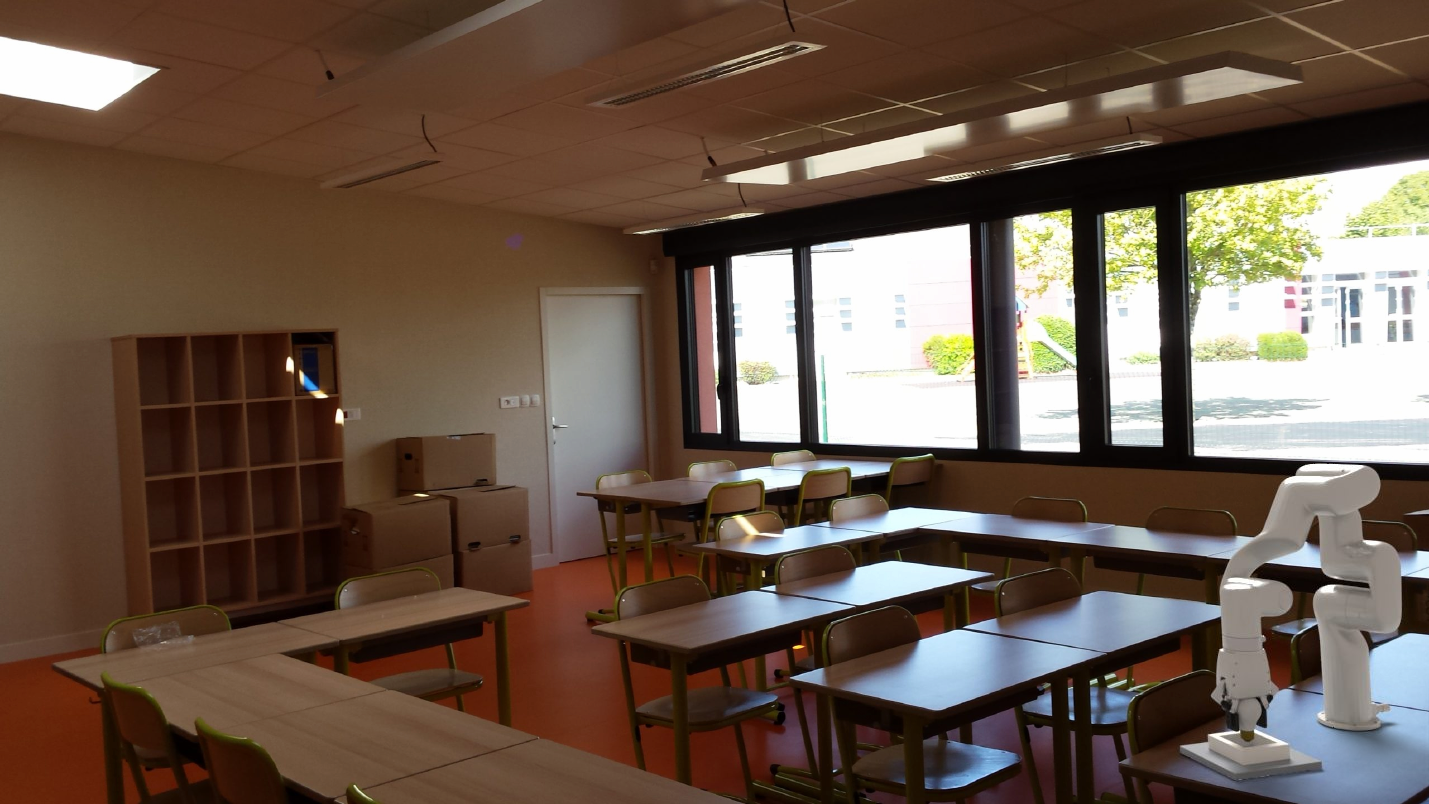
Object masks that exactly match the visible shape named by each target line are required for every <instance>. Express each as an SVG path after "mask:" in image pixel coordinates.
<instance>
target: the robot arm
mask: <svg viewBox="0 0 1429 804" xmlns="http://www.w3.org/2000/svg"><path fill="white" fill-rule="evenodd" d="M1380 489H1381V480H1380V476H1379V474H1378V473H1377V471H1376V470H1375V469H1374V468H1372V467H1371V466H1367V465H1359V464H1335V463H1334V464H1333V463H1329V464H1327V463H1315V464H1314V463H1313V464H1305V465H1303V466H1301V467H1299V468H1298V469H1297V470H1296V473H1295V476H1291V477H1288V478H1285V479H1284V480H1283V481H1282V482H1281V483H1280V485H1278V489H1277V492H1276V494H1275V497H1274V499H1273V502H1272V504H1271V507H1270V510H1269V513H1268V516H1267V519H1266V520H1265V523H1264V526H1263V529H1262V531H1261V532H1260V533H1258V535H1256V536H1254V537H1253V538H1251V539H1250V540H1248V541H1247V542H1246V543H1244V545H1242V546H1241V547H1240V548H1239V549H1238V550H1237V551H1236V552H1235V553H1233V555H1232V557H1230V559H1229V562H1228V563H1227V565H1226V568H1225V571H1224V574H1223V575H1222V578H1221V582H1220V586H1219V600H1220V601H1219V602H1220V619H1221V634H1222V635H1221V637H1222V648H1220V649H1219V651H1218V656H1217V660H1216V661H1217V662H1216V677H1215V678H1216V680H1215V681H1216V682H1215V683H1216V687H1215V688H1214V690H1213V691H1212V693H1211V695H1210V696H1211V698H1212V699H1213V700H1214V701H1215V702H1216V703H1217V704H1218V705H1219V706H1220V707H1221V708H1222V710H1224V711H1225V724H1226V727H1227V729H1228V730H1231V731H1235V732H1239V730H1240V728H1239V714H1238V713H1237V712H1236V709H1237V705H1238V701H1239V699H1246V698H1256V699H1257V700H1258V702H1259V703H1260V705H1261V715H1260V717H1259V719H1258V720H1257V722H1256V726H1257V727H1260V728H1263V729H1267V728H1268V712H1267V711H1268V710H1269V708H1270V704H1271V703H1272V701H1273V699H1274V698H1275V696H1276V695H1277V693H1279V691H1280V689H1279V687H1278V686H1277V685H1276V684H1275V683H1274V682H1273V681H1272V679H1271V671H1270V666H1269V661H1268V657H1267V652H1266V650H1265V648H1263V643H1264V642H1266V641H1267V638H1266V636H1264V635H1263V634H1262V619H1261V618H1262V617H1279V616H1282V615H1285V614H1286V613H1287V612H1288V611H1290V609H1291V608H1292V606H1293V603H1294V602H1293V601H1294V595H1293V592H1292V590H1291V589H1290V587H1289V586H1288V585H1287V584H1285V583H1283V582H1281V581H1278V580H1271V579H1265V578H1264V579H1263V578H1256V577H1250V576H1251V575H1252V574H1253V572H1254V571H1255V570H1256V569H1258V568H1259V567H1260V566H1262V565H1263V564H1265V563H1268V562H1270V561H1274V560H1276V559H1279V558H1282V557H1285V556H1289V555H1292V554H1294V553H1297V552H1299V551H1300V550H1302V549H1303V548H1304V545H1305V544H1306V540H1307V539H1308V535H1309V532H1310V530H1311V526H1312V523H1313V521H1314V519H1315V517H1316V516H1317V518H1318V526H1319V557H1320V559H1319V561H1320V562H1319V563H1320V567H1321V570H1322V572H1323V574H1324V575H1326V576H1327V577H1329V578H1333V579H1337V580H1344V581H1350V582H1358V583H1359V582H1360V583H1366V584H1368V586H1369V588H1367V587H1359V586H1350V585H1343V584H1327V585H1325V586H1324V585H1323V586H1321V587H1319V589H1317V590H1316V591H1315V594H1314V595H1313V600H1312V607H1313V612H1314V615H1315V619H1316V623H1317V627H1318V633H1319V634H1318V635H1319V640H1320V641H1319V642H1320V657H1321V658H1320V661H1321V675H1322V676H1321V677H1322V679H1321V680H1322V692H1323V693H1322V695H1323V708H1324V709H1323V711H1320V712H1318V713H1317V714H1316V717H1317V718H1316V720H1317V721H1318V723H1320V724H1322V725H1324V726H1326V727H1330V728H1333V727H1334V729H1339V730H1345V731H1357V732H1359V731H1360V732H1361V731H1364V732H1365V731H1373V730H1377V729H1379V728H1381V725H1382V722H1381V719H1380V718H1379V717H1378V716H1377V715H1378V714H1379V713H1387V712H1390V711H1391V706H1390V704H1389V703H1388V702H1383V703H1376V702H1374V701H1372V700H1373V699H1372V687H1371V685H1372V684H1371V670H1370V650H1369V646H1368V643H1367V641H1366V638H1365V637H1364V635H1363V634H1362V632H1361V631H1363V632H1364V631H1365V632H1371V633H1378V634H1391V633H1394V632H1395V631H1396V630H1397V629H1398V628H1399V627H1400V623H1401V620H1402V613H1403V612H1402V611H1403V610H1402V605H1403V603H1402V597H1403V596H1402V566H1401V564H1402V563H1401V559H1400V556H1399V554H1398V551H1397V549H1396V548H1395V547H1394V546H1393V545H1391V544H1389V543H1387V542H1384V541H1379V540H1369V539H1368V540H1367V539H1364V536H1363V523H1362V521H1363V520H1362V516H1361V513H1360V511H1359V509H1361V508H1363V507H1366V506H1367V505H1369V504H1371V503H1372V502H1373V501H1374V500H1375V499H1376V498H1377V497H1378V495H1379V493H1380ZM1223 696H1224V698H1223Z"/></svg>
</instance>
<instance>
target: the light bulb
mask: <svg viewBox="0 0 1429 804" xmlns="http://www.w3.org/2000/svg"><path fill="white" fill-rule="evenodd" d="M1236 712H1237V713H1238V714H1239V729H1240V736H1241V738H1242V739H1243V740H1244V741H1245V742H1250V741H1252V740H1253V739H1254V729H1255V730H1256V726H1257V725H1256V722H1257V720H1258V719H1259V717H1260V715H1261V705H1260V703H1259V702H1258V700H1257V699H1256V698H1246V699H1239V701H1238V705H1237V709H1236Z"/></svg>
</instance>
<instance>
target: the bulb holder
mask: <svg viewBox="0 0 1429 804" xmlns="http://www.w3.org/2000/svg"><path fill="white" fill-rule="evenodd" d="M1179 753H1180V754H1182V755H1184V756H1186V757H1188V758H1189V757H1190V759H1191V760H1193V761H1196V762H1197V763H1200V764H1201V765H1204V766H1205V767H1207V768H1209V769H1211V770H1213V771H1215V772H1217V773H1219V774H1221V775H1223V776H1225V775H1226V776H1225V777H1227V776H1229V777H1228V779H1230V778H1232V779H1234V780H1239V779H1247V778H1254V779H1257V778H1256V777H1261V776H1267V775H1275V776H1277V775H1276V774H1282V775H1286V774H1285V773H1289V774H1291V773H1290V772H1296V773H1298V772H1297V771H1303V772H1306V771H1305V770H1310V771H1316V770H1323V761H1321V760H1320V759H1317V758H1314V757H1313V756H1310V755H1308V754H1305V753H1303V752H1301V751H1299V750H1297V749H1294V748H1292V747H1290V743H1287V742H1285V741H1283V740H1280V739H1279V738H1275V737H1274V736H1271V735H1269V734H1267V733H1264V732H1262V731H1260V730H1257V729H1256V728H1255V729H1254V739H1253V740H1252V741H1250V742H1245V741H1244V740H1243V739H1242V738H1241V736H1240V730H1239V732H1235V731H1233V730H1231V731H1225V732H1216V733H1211V734H1209V733H1208V734H1207V741H1206V742H1201V743H1191V744H1184V745H1179ZM1261 778H1262V777H1261ZM1232 779H1231V780H1232ZM1234 780H1233V781H1234ZM1247 780H1248V779H1247Z"/></svg>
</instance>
